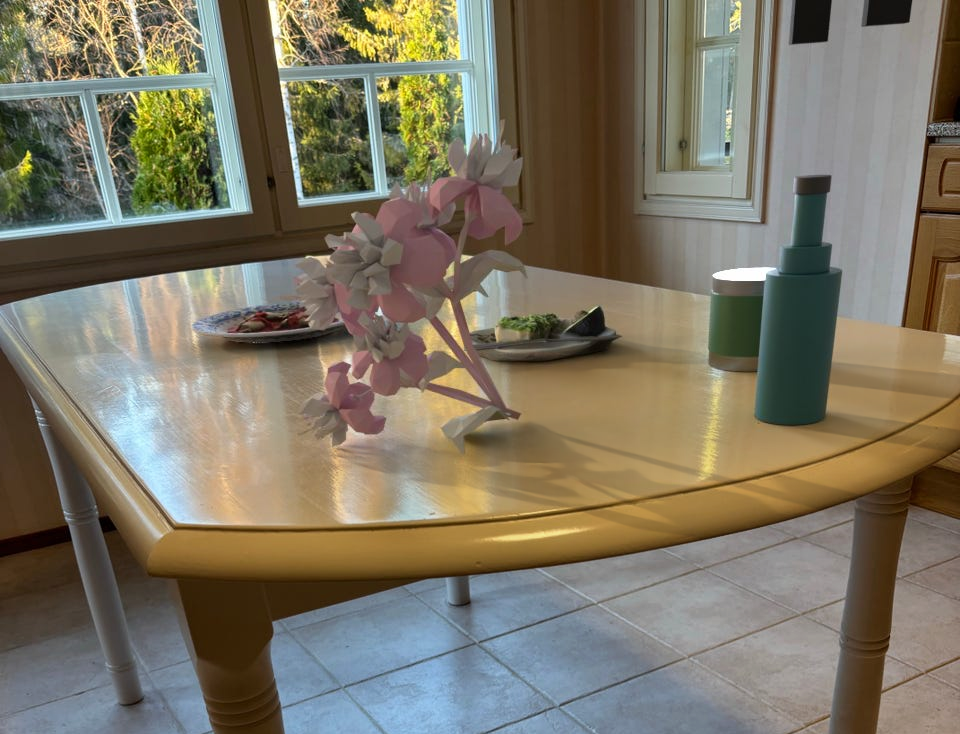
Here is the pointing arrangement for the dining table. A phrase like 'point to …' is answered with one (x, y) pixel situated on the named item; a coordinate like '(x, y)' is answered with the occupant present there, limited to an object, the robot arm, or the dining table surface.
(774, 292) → the bottle
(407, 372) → the flower
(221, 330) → the ceramic plate
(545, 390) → the dining table surface
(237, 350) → the dining table surface
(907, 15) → the robot arm
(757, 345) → the tin
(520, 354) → the salad plate
